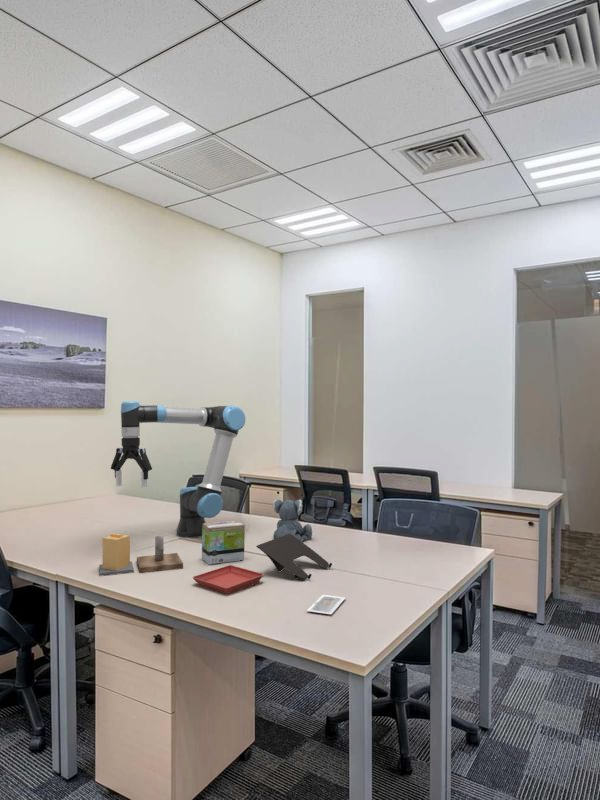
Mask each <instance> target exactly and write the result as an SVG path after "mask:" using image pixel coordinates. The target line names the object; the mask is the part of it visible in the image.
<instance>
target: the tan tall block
mask: <svg viewBox="0 0 600 800" xmlns="http://www.w3.org/2000/svg"><path fill="white" fill-rule="evenodd" d="M130 561H131V535H127V534H123V533H115V532H114V533H110V535H107V536H104V537H102V564H103V569H109V570H116V571H117V570H120V569H122V568H125V567H128V566H130Z"/></svg>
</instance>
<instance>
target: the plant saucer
mask: <svg viewBox="0 0 600 800" xmlns="http://www.w3.org/2000/svg"><path fill="white" fill-rule="evenodd" d="M264 575H265V574H264V573H261V572H258V571H254V570H249V569H247V568H244V567H239V566H236V565H231V564H230V565H226V566H222V567H218V568H215V569H213V570H210V571H206V572H203V573H200V574H197V575H194V576H192V579H193V581H195V582H196V584H198V585H199V586H202V587H205V588H208V589H211V590H214V591H217V592H220V593H223V594H227V595H228V594H230V593H234V592H235V591H239V590H241V588H242V589H244V588H247V587H250V586H253V585H255V583H256V584H257V583H259V581H260V580H261V579H262V578H263V577H264ZM252 584H253V585H252ZM249 585H250V586H249Z"/></svg>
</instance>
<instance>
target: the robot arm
mask: <svg viewBox="0 0 600 800" xmlns="http://www.w3.org/2000/svg"><path fill="white" fill-rule="evenodd" d="M120 418H121V419H120V422H121V431H120V432H121V437H122V438H121V447H117V448H116V450H115V454H114V457H113V460H112V463H111V465H110V469H111V470H113V471H114V479H115V487H120V486H121V487H122V484H123V483H122V482H123V481H122V480H123V479H122V467H123V466H124V464H125V463H126V461H127V460H129V459H130V460H134V461H135V462H136V463H137V465H138V466H139V467H140V469H141V472H140V475H141V476H140V480H141V482H140V483H141V486H140V487H141V488H142V489H143V488H146V487H148V479H149V471H152V470H153V467H152V465H151V464H152V463H150V460H149V458H148V455H147V450H146V448H145V447H144V448H140V445H141V440H140V439H141V438H140V436H141V435H140V434H141V433H140V432H141V430H140V429H141V427H140V426H141V425H140V424H142V423H146V424H147V423H156V424H157V423H159V424H160V423H161V424H163V423H164V424H182V425H183V424H184V425H187V424H188V425H199V427H202V428H203V427H205V428H211V429H213V432H214V433H215V435H214V440H213V443H212V446H211V447H212V448H211V451H210V453H209V458H208V461H207V464H206V468H205V470H204V471H205V472H204V475H203V479H202V482H201V483H200V484H198V485H197V486H188V487H183V488H180V491H179V521H178V524H177V527H176V531H175V533H176V534H175V535H176V536H177V537H179V538H198V537H202V525H203V523H207V521H206V519H212V518H215V517H217V515H219V514H220V513H221V512H222V509H223V507H224V506H223V505H224V500H223V498H222V492H223V491H222V489H221V484H222V481H223V477H224V473H225V469H226V466H227V462H228V458H229V454H230V451H231V447H232V444H233V441H234V439H235V438H237V437H238V434H239V431H240V430H241V429H243V428H244V426H245V424H246V415H245V413H244V411H243V409H241V408H240V407H239V406H236V405H235V406H234V405H217V406H209V407H206V406H205V407H200V408H190V407H189V408H186V407H169V406H164V405H163V404H162V405H158V404H157V405H156V404H155V405H154V404H153V405H140V402H139V401H137V400H136V401H134V400H132V401H131V400H129V401H122V402H121V405H120Z"/></svg>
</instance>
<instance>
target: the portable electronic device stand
mask: <svg viewBox="0 0 600 800" xmlns="http://www.w3.org/2000/svg"><path fill="white" fill-rule="evenodd" d="M256 548H257V549H259V550H260V551H261V552H263V553H264V554H265V555H266V556H267V557H268V559H269V560H270V561H271V562H272V564H273V565H274V567H275V569H276V570H277V572H278V573H280V572H279V571H281V570H282V571H283V570H284V569H286V570H287V571H288V572H290V573H291V574H293V575H294V578H295V579H296V580H300V579H301V580H305V581H310V579H311V577H312V576H313V575H312V573H309V574H308V573H307V572H306V571H304V570H303V568H301V567H300V566H299V565H298V564H297V563H295V560H297V559H298V558H301V557H306V558H308V559H310V560H311V561H313V562H314V563H316V564H317V565H319V566H321V567H322V568H324V569H326V570H331V568H332V566H333V563H332V562H330V563H329V562H328V561H327V560H326V559H325V558H324V557H322V555H320V554H318V553H317V552H316V551H315V550H313V549H312V548H311V547H310V546H308V545H307V544H306V543H304V541H302V542H301V541H300V540H298V539H297V538H296V537H294V536H293V535H291V534H290V533H289V534H286V535H284V536H281V537H278V538H276V539H274V538H273V539H272V540H268V541H266V542H263V543H260V544H257V545H256ZM282 571H281V572H282Z"/></svg>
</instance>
